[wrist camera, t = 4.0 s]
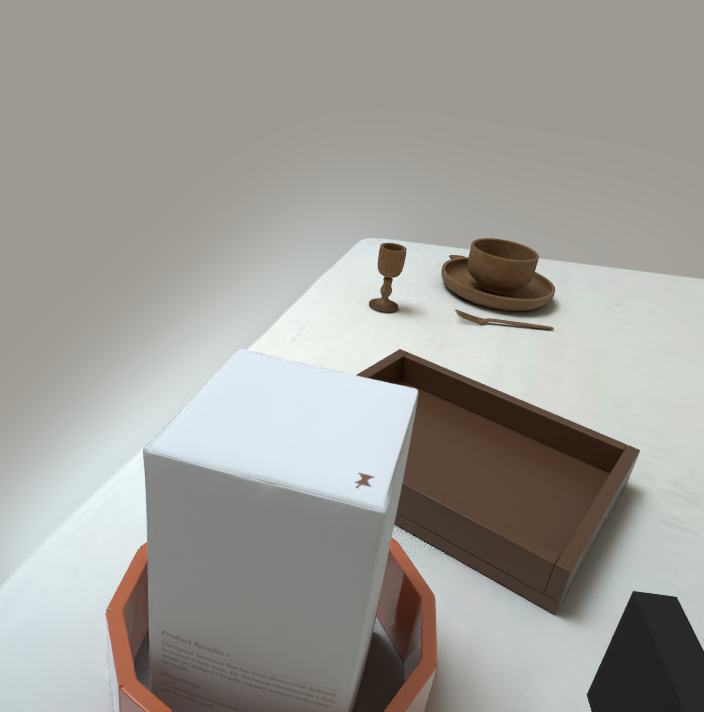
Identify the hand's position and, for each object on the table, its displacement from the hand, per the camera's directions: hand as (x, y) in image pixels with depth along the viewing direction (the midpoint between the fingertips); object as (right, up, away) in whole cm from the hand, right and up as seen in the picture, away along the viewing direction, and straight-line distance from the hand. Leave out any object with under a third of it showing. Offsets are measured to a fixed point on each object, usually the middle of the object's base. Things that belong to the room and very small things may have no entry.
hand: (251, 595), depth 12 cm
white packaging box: (-2, -9, +16) cm, 18 cm away
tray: (+8, -3, +29) cm, 31 cm away
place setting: (+13, +11, +58) cm, 61 cm away
